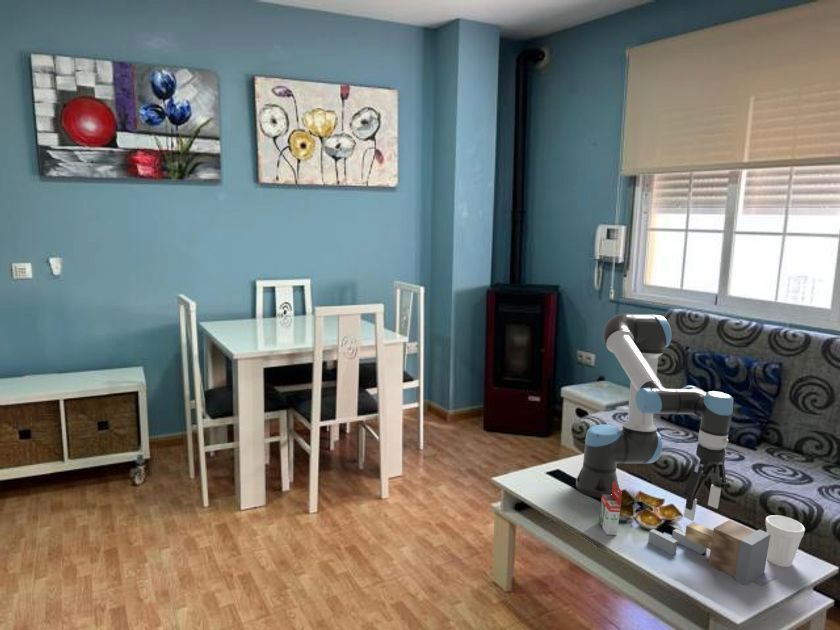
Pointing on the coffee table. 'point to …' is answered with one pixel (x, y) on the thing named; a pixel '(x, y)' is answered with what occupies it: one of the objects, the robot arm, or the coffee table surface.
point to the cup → (783, 539)
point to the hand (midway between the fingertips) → (701, 512)
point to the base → (740, 554)
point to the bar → (699, 534)
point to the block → (727, 546)
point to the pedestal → (662, 541)
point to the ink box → (610, 511)
